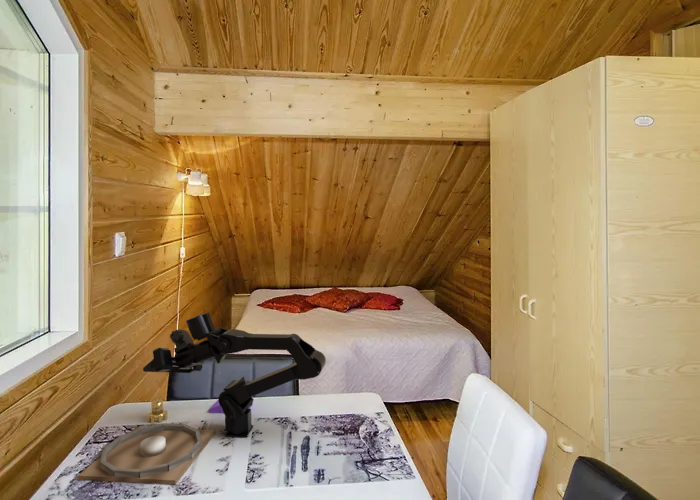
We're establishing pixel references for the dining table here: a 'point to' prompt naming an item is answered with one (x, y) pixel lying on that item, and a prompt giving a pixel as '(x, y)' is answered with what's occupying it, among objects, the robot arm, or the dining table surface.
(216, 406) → the bracket
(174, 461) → the carrier
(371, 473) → the dining table surface
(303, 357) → the robot arm
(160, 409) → the gear
